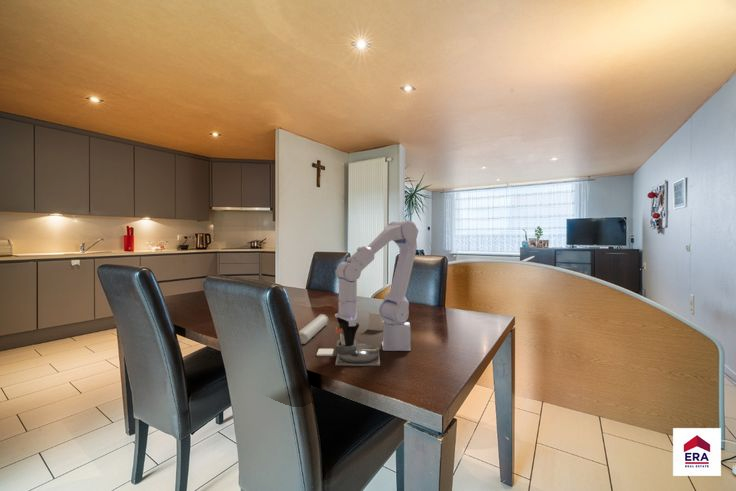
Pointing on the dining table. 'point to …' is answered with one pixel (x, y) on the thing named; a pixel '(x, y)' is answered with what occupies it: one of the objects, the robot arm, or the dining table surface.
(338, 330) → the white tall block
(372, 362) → the chuck base
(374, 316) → the grey square block
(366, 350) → the grey base plate
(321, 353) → the felt pad
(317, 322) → the tube
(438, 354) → the dining table surface
